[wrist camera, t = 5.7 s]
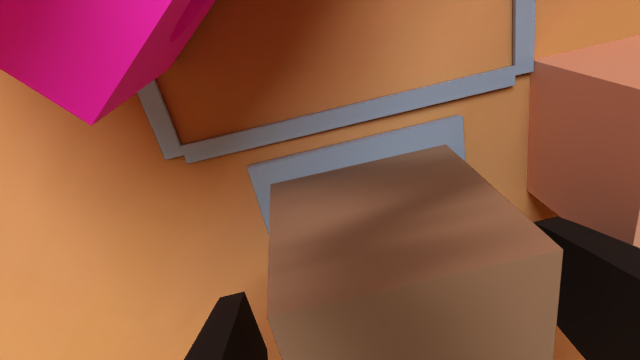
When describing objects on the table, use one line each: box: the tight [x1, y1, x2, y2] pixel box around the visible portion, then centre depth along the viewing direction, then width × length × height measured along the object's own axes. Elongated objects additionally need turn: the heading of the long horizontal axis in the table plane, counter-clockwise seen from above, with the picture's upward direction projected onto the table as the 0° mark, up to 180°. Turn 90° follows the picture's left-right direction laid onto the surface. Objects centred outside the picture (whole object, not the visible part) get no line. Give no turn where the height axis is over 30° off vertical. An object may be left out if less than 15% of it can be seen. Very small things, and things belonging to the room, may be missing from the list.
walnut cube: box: [267, 144, 563, 360], centre depth 10 cm, size 5×5×5 cm
